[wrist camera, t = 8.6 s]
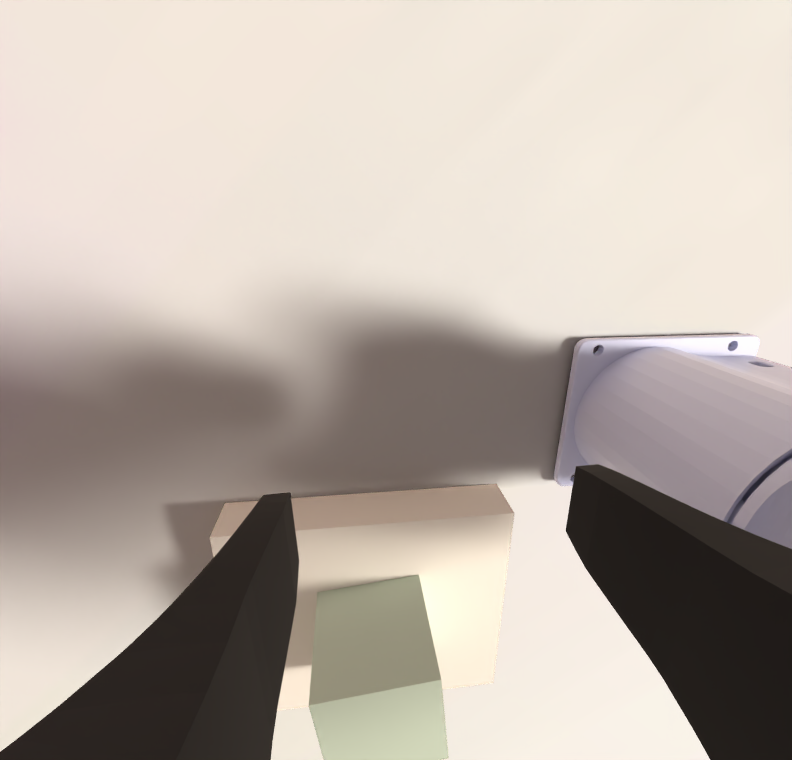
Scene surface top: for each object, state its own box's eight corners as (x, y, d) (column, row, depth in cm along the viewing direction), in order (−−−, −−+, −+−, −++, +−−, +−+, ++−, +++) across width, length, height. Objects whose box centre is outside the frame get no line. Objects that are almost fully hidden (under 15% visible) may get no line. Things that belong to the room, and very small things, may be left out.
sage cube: (418, 574, 20) (441, 679, 15) (426, 644, 22) (448, 758, 17) (317, 592, 19) (308, 705, 15) (333, 662, 21) (330, 783, 17)
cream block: (492, 477, 22) (514, 513, 19) (477, 635, 26) (493, 683, 23) (227, 496, 20) (209, 537, 18) (255, 660, 25) (244, 714, 22)
